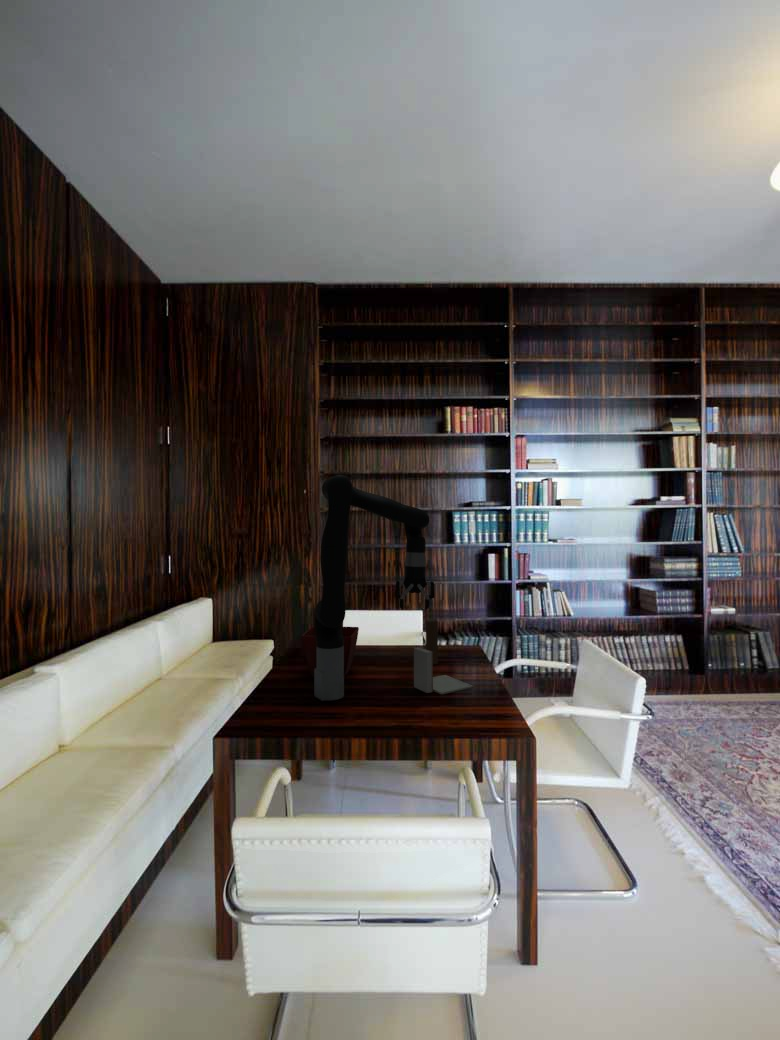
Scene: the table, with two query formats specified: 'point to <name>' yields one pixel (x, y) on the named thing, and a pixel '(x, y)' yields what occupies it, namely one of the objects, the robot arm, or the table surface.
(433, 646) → the wooden block
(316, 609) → the robot arm
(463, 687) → the felt pad
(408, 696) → the table surface
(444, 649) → the table surface
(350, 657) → the plant pot
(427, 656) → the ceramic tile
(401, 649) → the table surface
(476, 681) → the table surface
